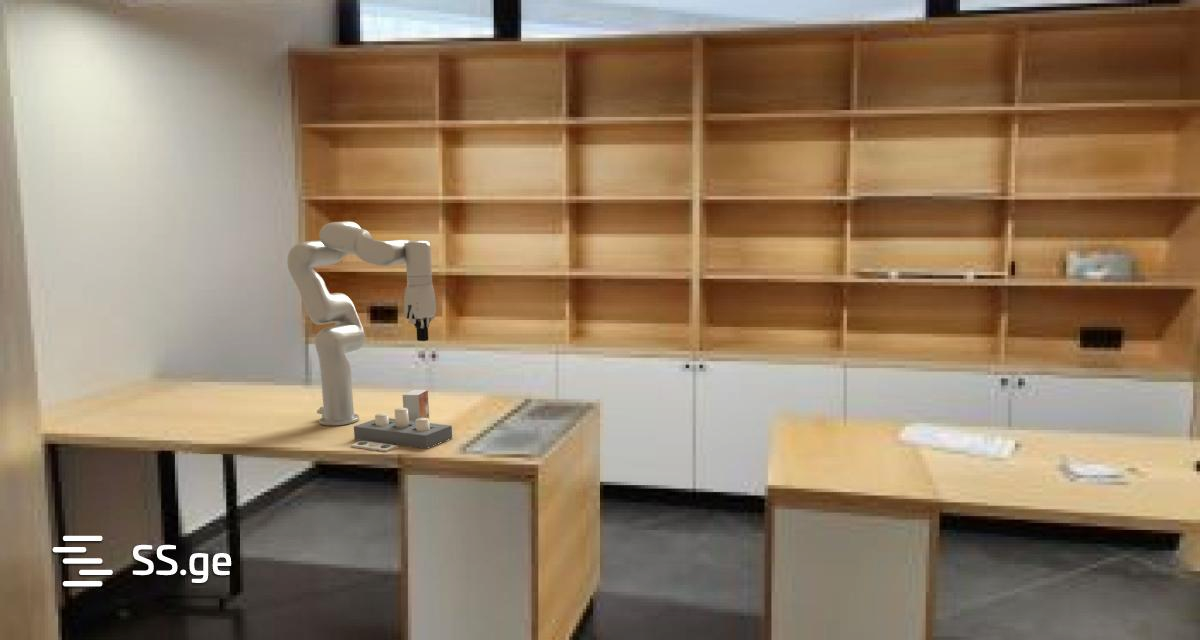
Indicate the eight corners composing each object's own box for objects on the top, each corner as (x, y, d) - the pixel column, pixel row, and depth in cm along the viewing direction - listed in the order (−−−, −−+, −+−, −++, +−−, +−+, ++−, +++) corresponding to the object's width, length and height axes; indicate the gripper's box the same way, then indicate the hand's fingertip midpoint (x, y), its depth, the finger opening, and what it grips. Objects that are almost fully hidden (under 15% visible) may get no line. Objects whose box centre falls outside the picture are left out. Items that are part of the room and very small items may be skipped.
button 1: (373, 437, 284) (372, 415, 283) (382, 433, 287) (381, 412, 287) (383, 438, 282) (382, 416, 281) (392, 435, 286) (391, 413, 285)
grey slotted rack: (354, 439, 283) (353, 426, 282) (381, 429, 293) (380, 417, 292) (426, 448, 269) (425, 435, 268) (452, 438, 279) (451, 425, 279)
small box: (420, 427, 294) (418, 395, 293) (404, 427, 295) (401, 394, 294) (430, 421, 302) (428, 389, 300) (414, 420, 303) (412, 389, 302)
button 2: (393, 431, 280) (391, 410, 279) (402, 428, 283) (400, 407, 282) (403, 433, 278) (401, 411, 277) (412, 429, 281) (410, 408, 280)
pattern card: (350, 446, 274) (350, 444, 274) (362, 442, 278) (362, 439, 278) (386, 451, 267) (386, 449, 267) (398, 447, 272) (397, 444, 271)
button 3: (414, 442, 276) (412, 420, 275) (422, 438, 280) (421, 417, 279) (424, 443, 274) (423, 421, 273) (433, 440, 278) (432, 418, 277)
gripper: (426, 278, 291) (429, 336, 294) (393, 283, 278) (396, 343, 281) (445, 279, 287) (447, 337, 290) (412, 284, 275) (416, 345, 277)
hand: (422, 340), depth 286 cm, fingers closed
